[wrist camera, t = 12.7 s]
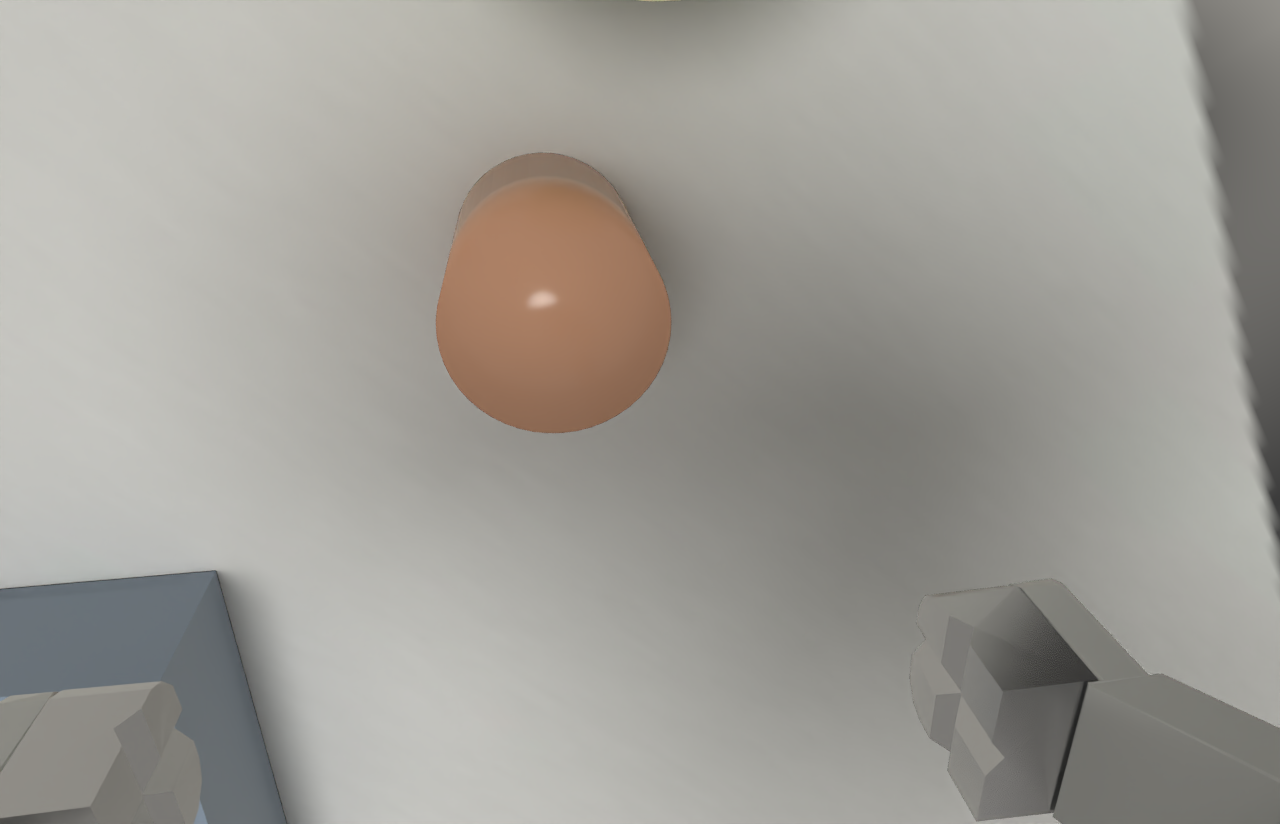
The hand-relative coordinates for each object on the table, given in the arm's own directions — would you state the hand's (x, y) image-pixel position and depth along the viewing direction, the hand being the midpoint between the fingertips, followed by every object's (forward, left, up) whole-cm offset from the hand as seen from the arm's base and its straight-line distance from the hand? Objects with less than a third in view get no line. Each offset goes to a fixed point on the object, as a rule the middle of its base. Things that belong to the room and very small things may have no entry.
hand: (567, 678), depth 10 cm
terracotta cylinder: (0, 0, -17) cm, 17 cm away
